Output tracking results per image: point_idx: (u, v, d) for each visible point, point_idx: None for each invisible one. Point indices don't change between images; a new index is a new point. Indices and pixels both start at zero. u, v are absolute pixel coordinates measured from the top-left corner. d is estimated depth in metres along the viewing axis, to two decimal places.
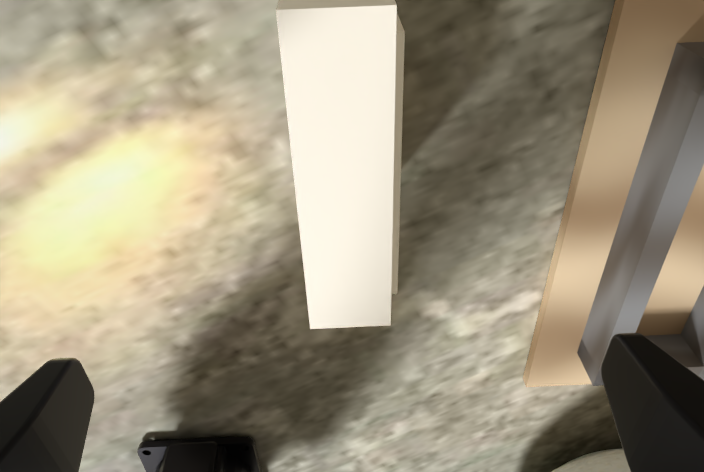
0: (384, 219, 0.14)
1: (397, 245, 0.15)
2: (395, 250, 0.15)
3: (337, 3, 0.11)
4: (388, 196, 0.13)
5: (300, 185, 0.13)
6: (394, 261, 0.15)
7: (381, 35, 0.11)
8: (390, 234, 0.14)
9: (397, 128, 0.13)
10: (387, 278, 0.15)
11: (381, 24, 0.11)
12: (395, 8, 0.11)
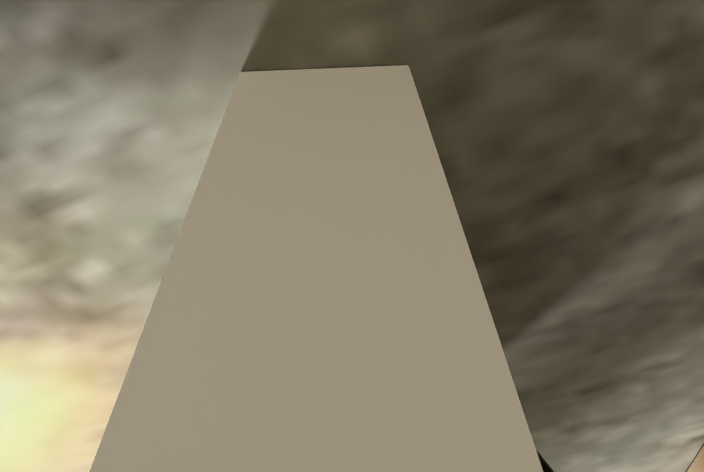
0: None
1: None
2: None
3: None
4: None
5: None
6: None
7: None
8: None
9: None
10: None
11: None
12: None
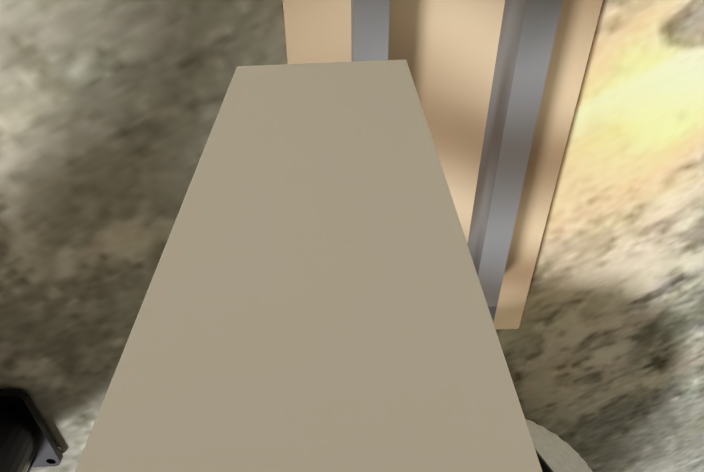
0: None
1: None
2: None
3: None
4: None
5: None
6: None
7: None
8: None
9: None
10: None
11: None
12: None
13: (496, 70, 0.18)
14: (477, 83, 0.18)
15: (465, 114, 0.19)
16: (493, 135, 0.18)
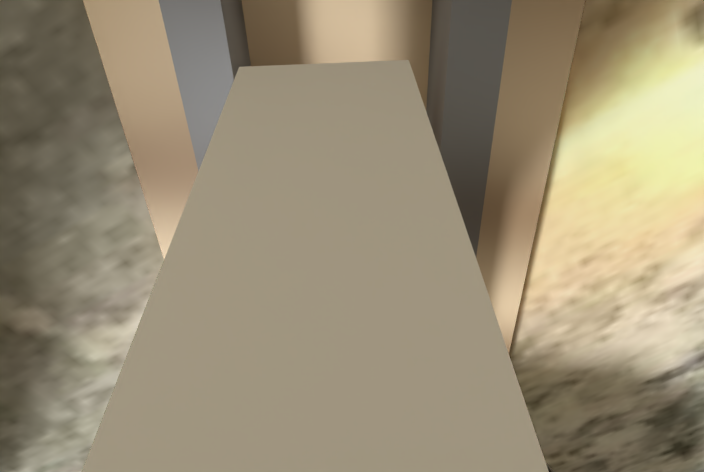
0: None
1: None
2: None
3: None
4: None
5: None
6: None
7: None
8: None
9: None
10: None
11: None
12: None
13: (429, 88, 0.12)
14: None
15: None
16: None
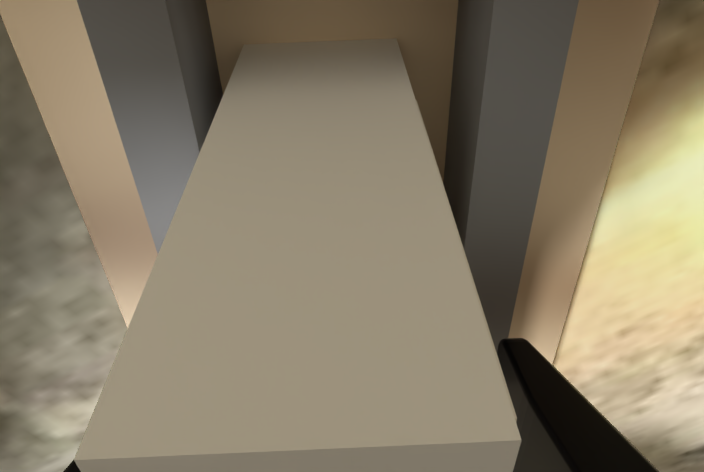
0: None
1: None
2: None
3: (306, 399, 0.03)
4: None
5: None
6: None
7: None
8: None
9: None
10: None
11: None
12: (516, 448, 0.03)
13: (448, 151, 0.09)
14: None
15: None
16: None
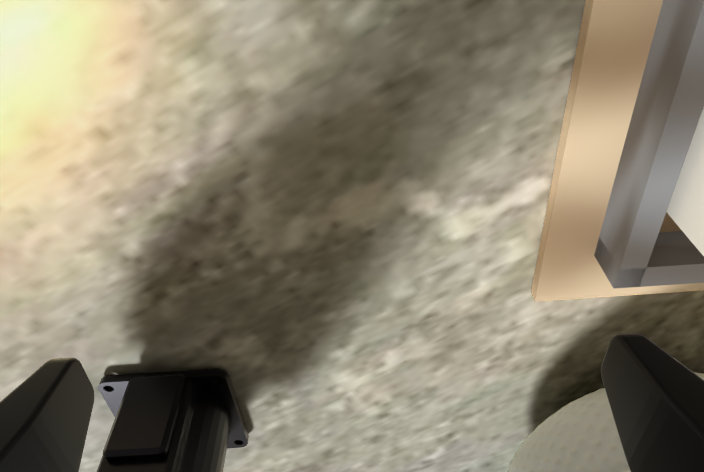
0: None
1: None
2: None
3: None
4: None
5: None
6: None
7: None
8: None
9: None
10: None
11: None
12: None
13: None
14: None
15: None
16: None
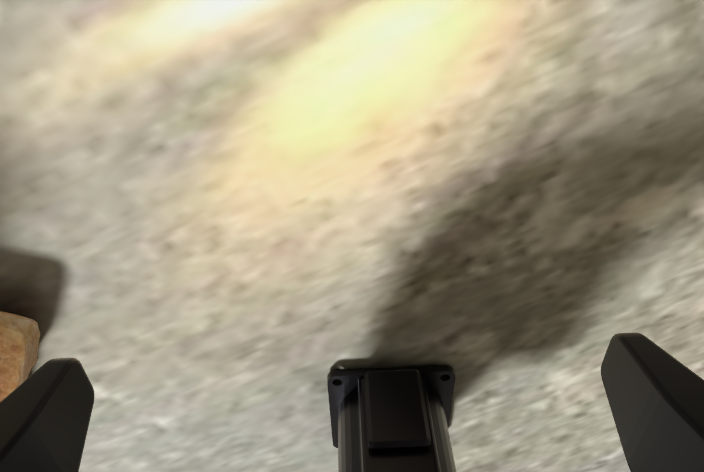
0: None
1: None
2: None
3: None
4: None
5: None
6: None
7: None
8: None
9: None
10: None
11: None
12: None
13: None
14: None
15: None
16: None
